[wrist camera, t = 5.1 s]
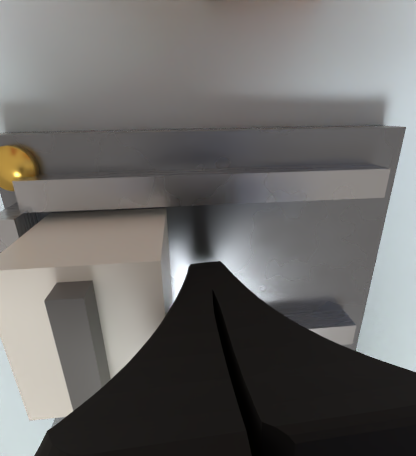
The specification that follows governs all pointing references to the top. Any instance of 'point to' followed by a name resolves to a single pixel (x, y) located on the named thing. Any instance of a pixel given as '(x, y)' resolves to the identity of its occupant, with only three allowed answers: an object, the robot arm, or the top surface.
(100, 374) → the toggle
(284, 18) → the top surface
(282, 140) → the breaker panel
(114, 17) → the top surface
